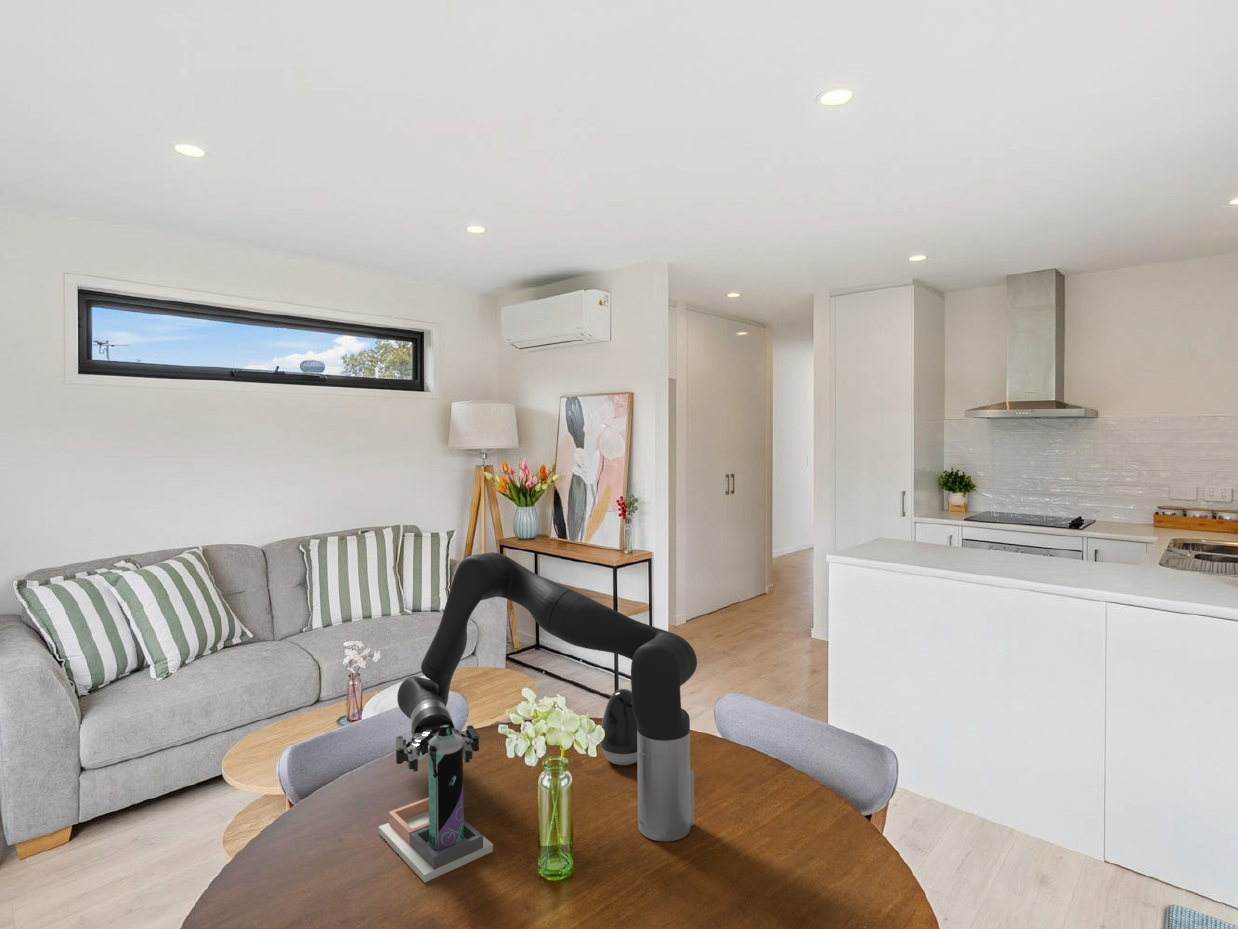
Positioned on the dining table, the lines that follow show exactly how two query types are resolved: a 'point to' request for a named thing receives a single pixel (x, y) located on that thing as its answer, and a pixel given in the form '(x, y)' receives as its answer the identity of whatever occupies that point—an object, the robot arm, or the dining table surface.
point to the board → (413, 847)
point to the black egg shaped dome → (620, 729)
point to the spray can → (445, 789)
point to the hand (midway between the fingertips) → (442, 761)
